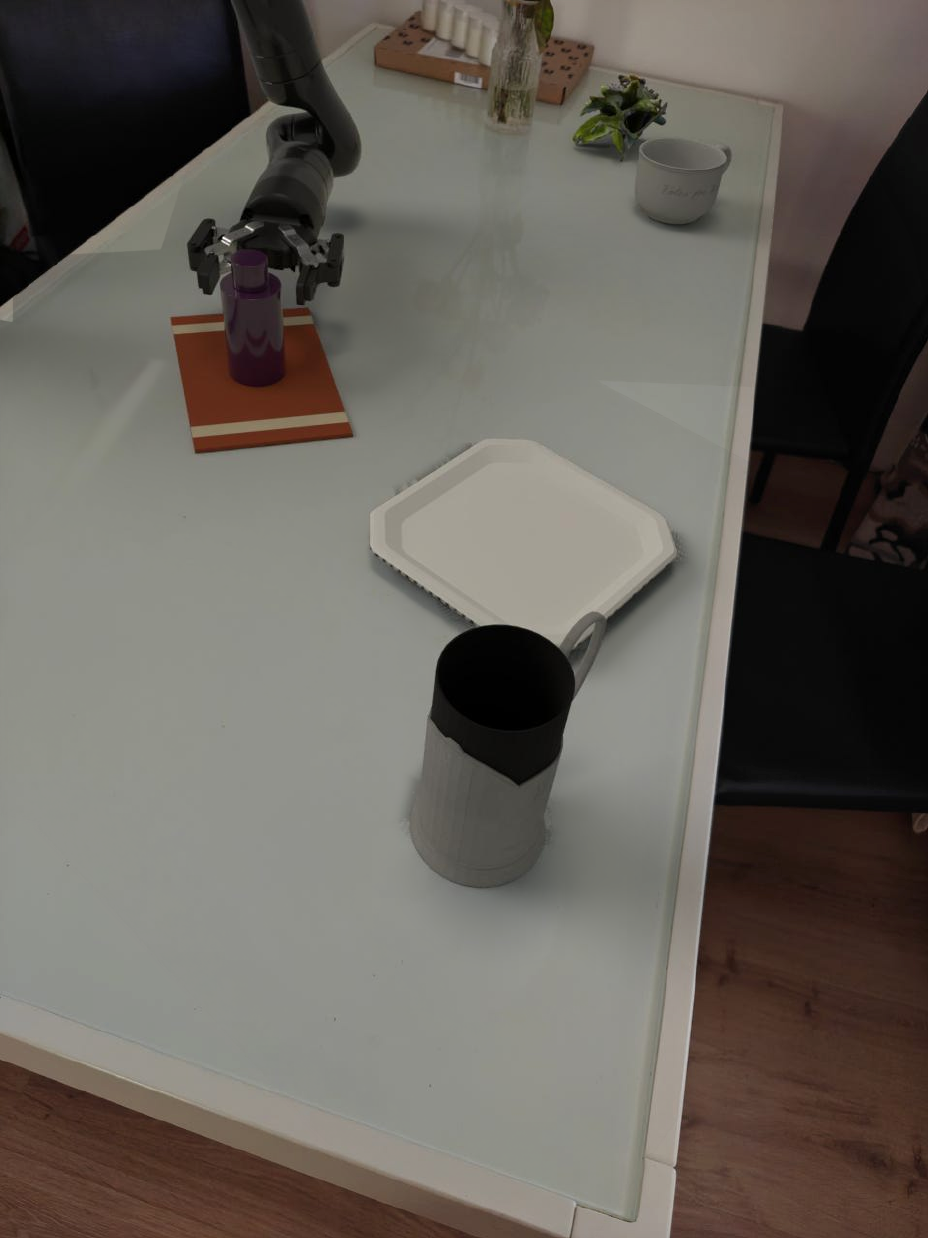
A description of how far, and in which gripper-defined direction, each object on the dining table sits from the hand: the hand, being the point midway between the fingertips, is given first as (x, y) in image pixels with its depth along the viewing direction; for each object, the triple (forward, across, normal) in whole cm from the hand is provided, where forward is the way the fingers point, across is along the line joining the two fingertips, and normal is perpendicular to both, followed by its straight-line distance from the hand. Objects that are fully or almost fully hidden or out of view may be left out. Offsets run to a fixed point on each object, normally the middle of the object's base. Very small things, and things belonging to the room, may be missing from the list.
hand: (253, 290), depth 90 cm
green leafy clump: (-64, +38, +9) cm, 75 cm away
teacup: (-46, +45, +9) cm, 65 cm away
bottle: (+1, 0, +8) cm, 8 cm away
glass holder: (+46, +26, +9) cm, 53 cm away
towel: (+1, 0, +8) cm, 8 cm away
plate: (+22, +26, +9) cm, 35 cm away
